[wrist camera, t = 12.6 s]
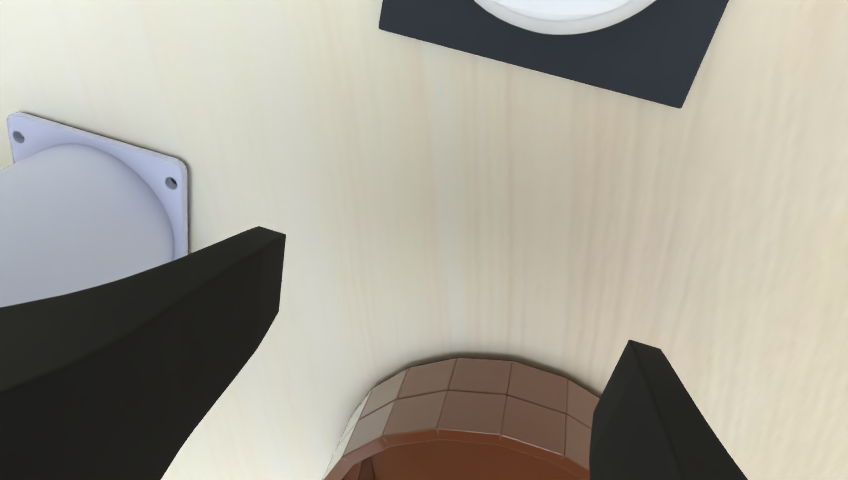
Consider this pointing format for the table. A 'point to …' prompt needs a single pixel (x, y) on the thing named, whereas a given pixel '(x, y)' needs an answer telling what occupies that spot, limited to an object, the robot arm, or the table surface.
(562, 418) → the glazed bowl
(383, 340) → the table surface
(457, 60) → the table surface
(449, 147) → the table surface
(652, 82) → the coaster
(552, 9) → the supplement bottle
